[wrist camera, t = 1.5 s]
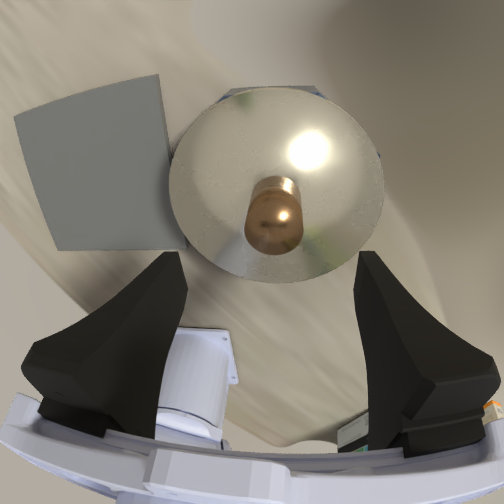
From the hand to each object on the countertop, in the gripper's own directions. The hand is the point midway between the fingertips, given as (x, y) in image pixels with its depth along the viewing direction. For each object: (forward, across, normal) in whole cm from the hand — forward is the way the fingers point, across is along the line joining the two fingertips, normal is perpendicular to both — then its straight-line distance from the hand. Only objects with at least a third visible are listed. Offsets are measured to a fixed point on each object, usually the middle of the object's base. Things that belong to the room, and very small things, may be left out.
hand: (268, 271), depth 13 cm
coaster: (+10, +14, -1) cm, 17 cm away
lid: (+7, 0, 0) cm, 7 cm away
